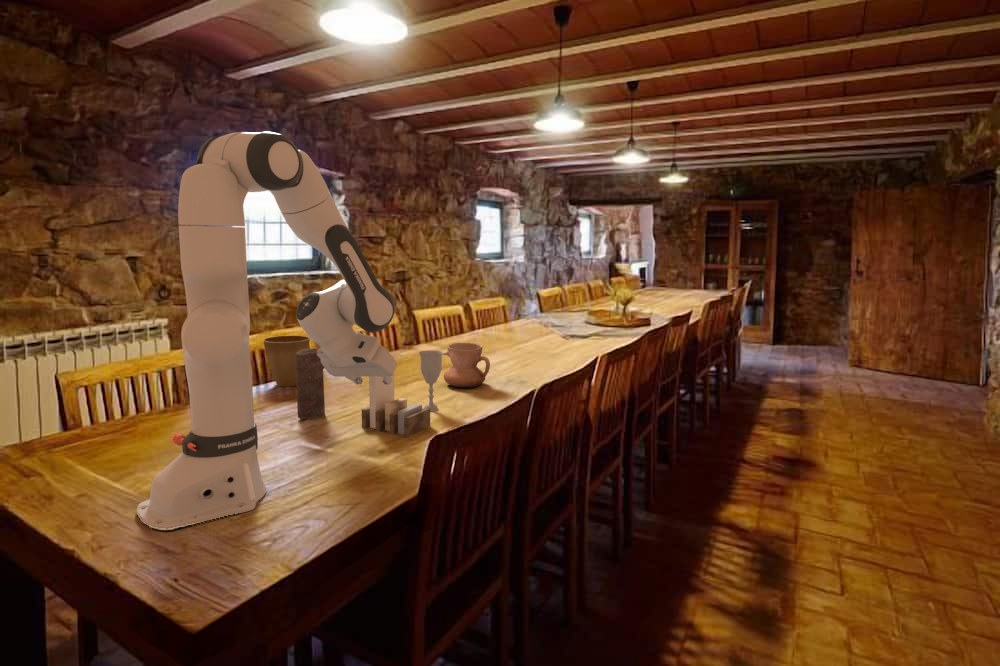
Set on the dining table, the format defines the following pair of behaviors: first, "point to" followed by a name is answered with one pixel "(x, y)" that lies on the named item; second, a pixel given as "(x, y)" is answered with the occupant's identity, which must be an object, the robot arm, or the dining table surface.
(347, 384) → the dining table surface
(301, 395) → the dark stone block
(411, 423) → the rack
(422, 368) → the chalice
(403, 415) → the offcut
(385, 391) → the tall board
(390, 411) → the offcut
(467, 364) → the ceramic jug
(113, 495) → the dining table surface
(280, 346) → the plant pot
